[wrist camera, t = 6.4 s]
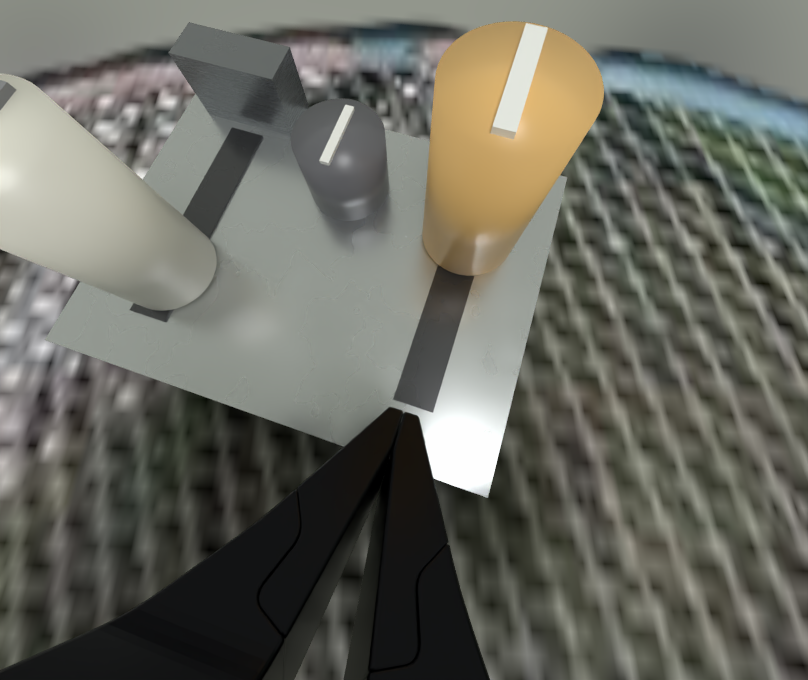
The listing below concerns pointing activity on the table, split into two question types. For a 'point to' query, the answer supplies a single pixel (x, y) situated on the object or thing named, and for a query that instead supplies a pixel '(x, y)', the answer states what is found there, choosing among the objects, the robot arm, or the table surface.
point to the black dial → (342, 157)
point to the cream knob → (90, 209)
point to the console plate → (317, 281)
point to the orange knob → (502, 137)
